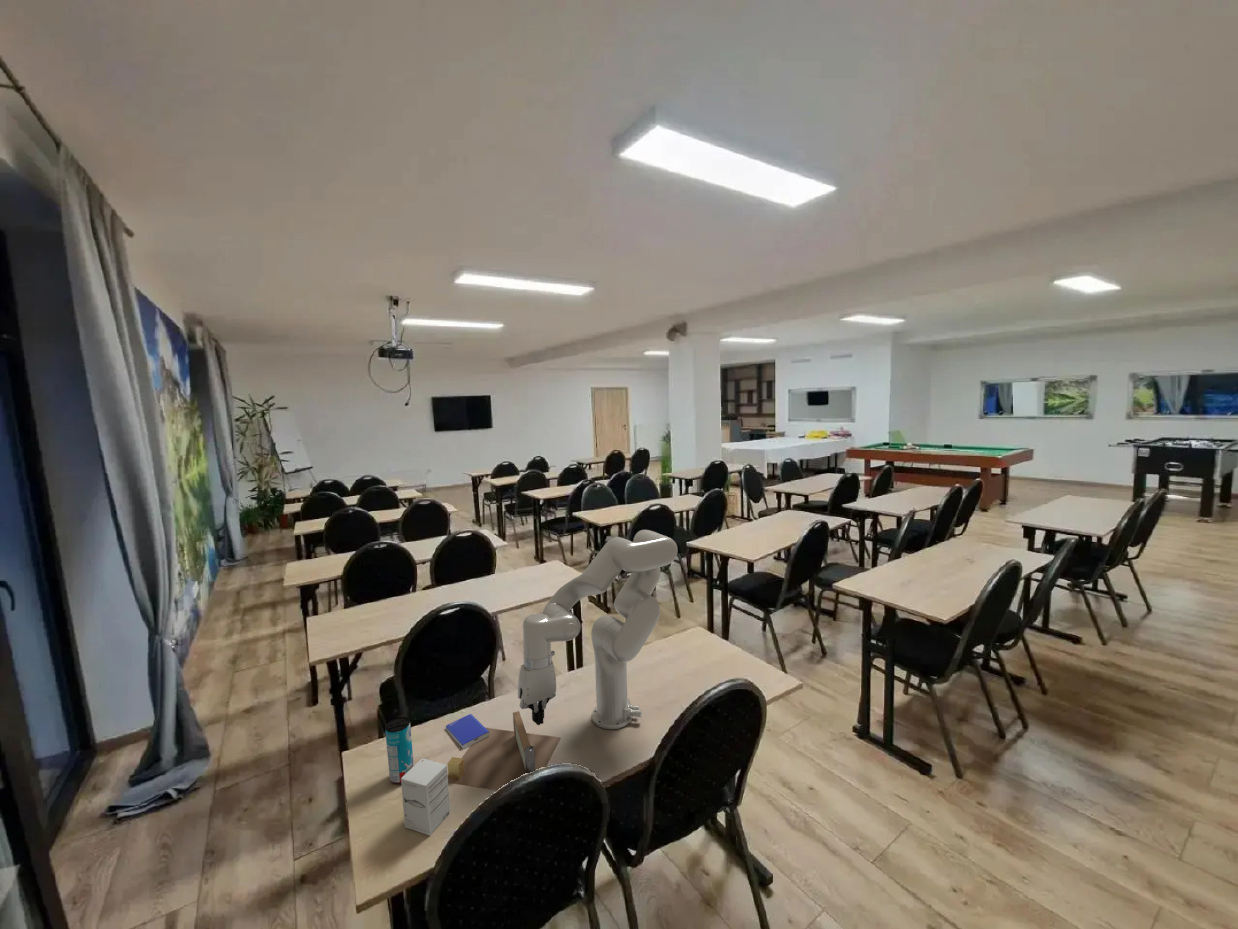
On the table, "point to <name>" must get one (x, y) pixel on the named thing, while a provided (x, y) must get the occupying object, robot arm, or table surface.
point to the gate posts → (458, 764)
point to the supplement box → (425, 796)
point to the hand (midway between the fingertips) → (538, 722)
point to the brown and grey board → (520, 734)
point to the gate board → (501, 759)
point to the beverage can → (399, 748)
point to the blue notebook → (467, 731)
